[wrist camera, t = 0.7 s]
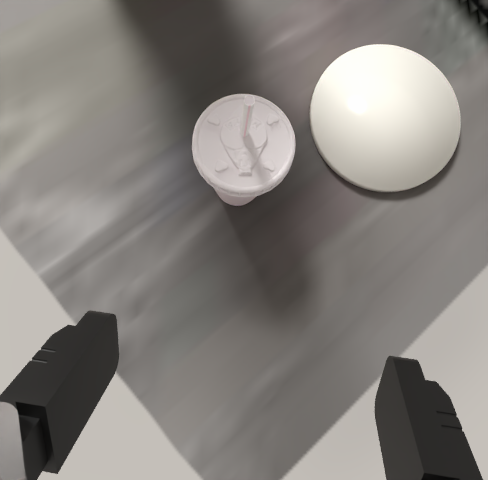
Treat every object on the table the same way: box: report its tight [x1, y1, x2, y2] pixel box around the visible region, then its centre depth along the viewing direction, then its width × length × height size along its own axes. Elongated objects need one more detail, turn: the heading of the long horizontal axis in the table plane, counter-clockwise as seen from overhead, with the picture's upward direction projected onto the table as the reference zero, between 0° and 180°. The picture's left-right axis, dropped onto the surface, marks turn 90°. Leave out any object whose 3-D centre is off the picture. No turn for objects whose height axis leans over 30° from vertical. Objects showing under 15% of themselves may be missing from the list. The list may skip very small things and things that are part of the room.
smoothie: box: [192, 94, 295, 206], centre depth 28 cm, size 6×6×14 cm
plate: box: [309, 44, 461, 192], centre depth 36 cm, size 13×13×1 cm
